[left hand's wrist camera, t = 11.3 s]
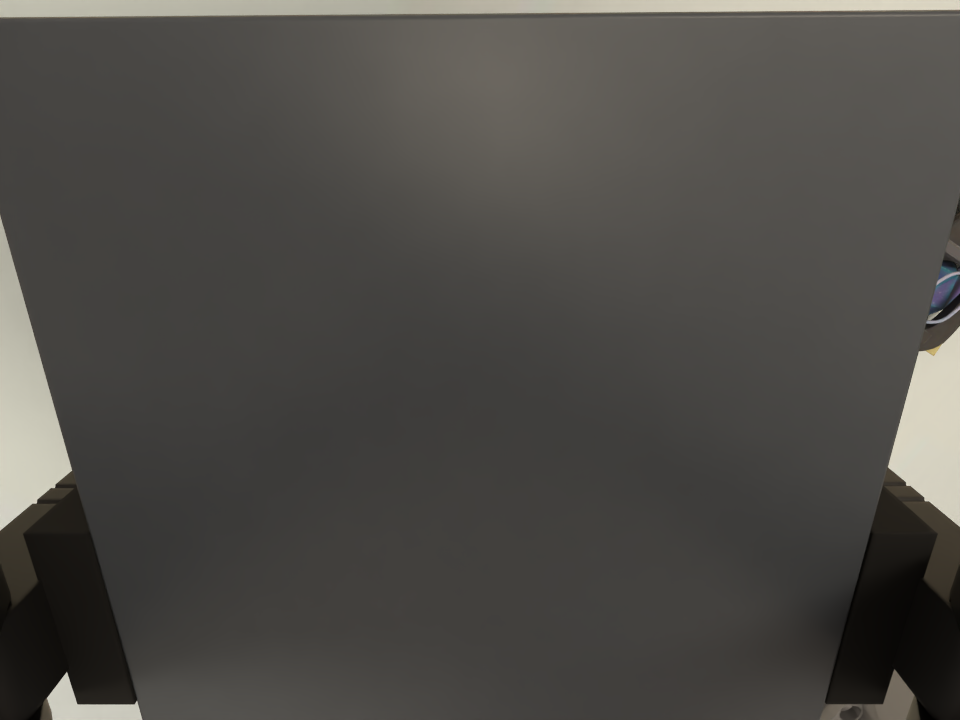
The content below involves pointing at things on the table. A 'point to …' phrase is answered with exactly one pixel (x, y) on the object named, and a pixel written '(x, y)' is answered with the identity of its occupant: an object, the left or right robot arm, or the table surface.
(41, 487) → the table surface
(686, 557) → the long grey beam
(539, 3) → the table surface
